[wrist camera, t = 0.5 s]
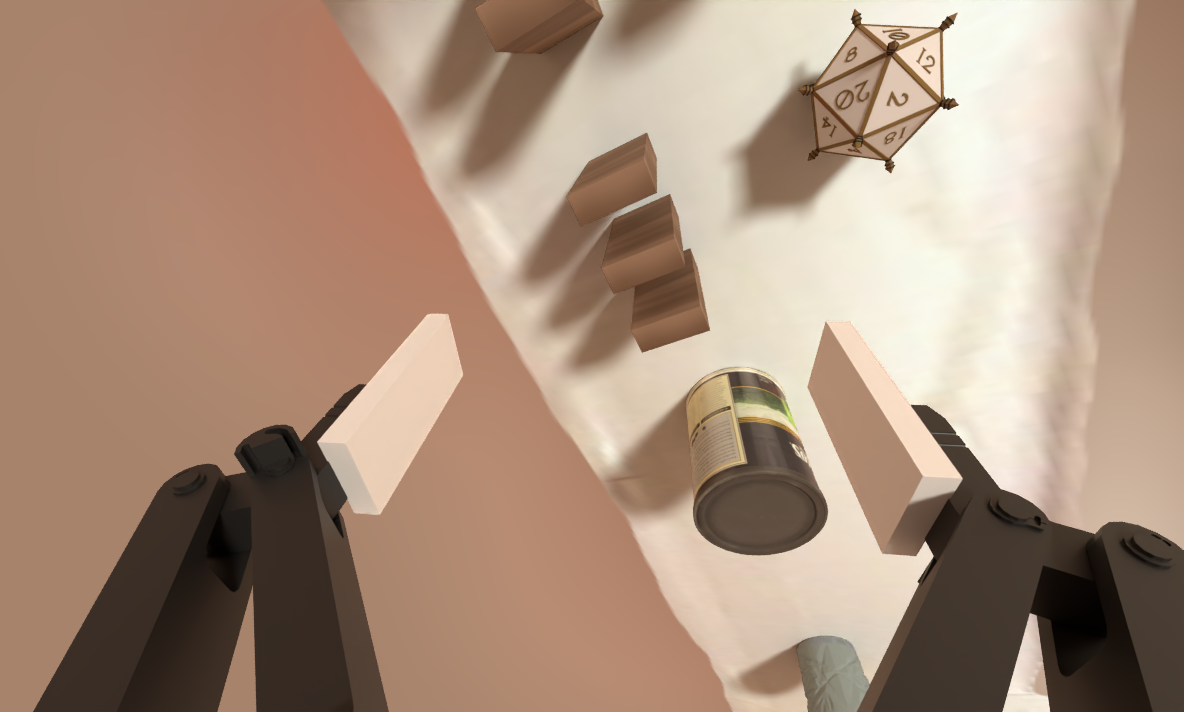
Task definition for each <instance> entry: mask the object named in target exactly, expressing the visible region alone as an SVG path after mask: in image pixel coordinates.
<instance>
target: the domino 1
mask: <svg viewBox="0 0 1184 712" xmlns="http://www.w3.org/2000/svg"><path fill="white" fill-rule="evenodd" d="M475 9H476V11H477V13H478V15H479V18H480V20H481V22H482V24H483V26H484V28H485V30H486V32H487V34H488V36H489V38H490V40H491V42H492V44H493V46H494V48H495V51H496V52H511V53H536V54H541V53H543V52H545V51H546V50H548V49H549V48H551V47H553V46H554V45H556V44H558V43H559V42H561V41H563V40H564V39H566V38H568V37H569V36H571V35H572V34H574V33H576V32H577V31H579V30H581V29H582V28H584V27H586V26H587V25H589V24H591V23H592V22H594V21H596V20H597V19H599V18H600V17H602V16H603V13H602V11H601V8H600V5H599V3H598V0H487V1H486V2H484V3H483V4H481V5H480V6H478V7H477V8H475Z"/></svg>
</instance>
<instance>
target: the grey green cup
mask: <svg viewBox="0 0 1184 712" xmlns="http://www.w3.org/2000/svg"><path fill="white" fill-rule="evenodd" d="M797 655H798V660H799V665H800V668H801V673H802V675H803V676H802V681H803V685H804V691H805V696H806V698H807V699H808V706H807V708H808V712H857V710H858V708H859V706H860V704H861V702H862V700H863V698H864V696H865V694H866V692H867V690H868V688H869V686H870V684H869V682H868V679H867V678H866V676H865V675H864V672H863V669H862V666H861V663H860V661H859V659H858V656H857V654H856V651H855V649H854V647H853V645H852V644H851V643H850V642H849V641H847V640H845V639H843V638H839V637H834V636H817V637H812V638H808V639H806V640H804V641H802V642H801V643H800V644H799V645H798V647H797Z"/></svg>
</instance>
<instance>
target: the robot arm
mask: <svg viewBox="0 0 1184 712" xmlns="http://www.w3.org/2000/svg"><path fill="white" fill-rule="evenodd" d="M462 376H463V372H462V368H461V364H460V360H459V356H458V352H457V348H456V344H455V340H454V336H453V332H452V328H451V324H450V320H449V316H448V314H428V315H427V316H426V317H425V318H424V320H422V322H421V323H420V324H419V325H418V326H417V327H416V328H415V330H414V331H413V332H412V333H411V334H410V335H409V337H408V338H407V339H406V340H405V341H404V342H403V343H402V345H401V346H400V347H399V348H398V349H397V350H396V352H395V353H394V354H393V355H392V356H391V357H390V358H389V360H388V361H387V362H386V363H385V364H384V365H383V367H382V368H381V369H380V370H379V371H378V372H377V374H376V375H375V376H374V377H373V378H372V379H371V380H370V382H369V383H368V384H367V385H364V384H359V385H357V386H356V387H354V388H353V389H351V390H350V391H348V392H347V393H345V394H344V395H343V396H342V397H341V398H340V399H339V400H338V401H337V403H336V404H335V405H334V408H331V409H330V410H329V411H328V412H327V413H326V416H325V417H323V418H322V419H321V420H320V421H319V422H318V423H317V424H316V426H315V427H314V428H313V429H312V430H311V431H310V432H309V433H308V434H307V435H306V437H305V438H304V439H303V440H302V441H300V439H299V437H298V435H297V433H296V432H295V430H294V429H293V427H291V426H288V425H274V426H271V427H267V428H263V429H261V430H259V431H257V432H255V433H253V434H251V435H250V436H248V437H247V438H245V439H244V440H243V441H242V442H241V443H240V444H239V445H238V447H237V448H236V451H235V453H234V455H235V456H236V458H237V459H238V461H239V462H240V464H241V465H242V467H243V468H244V469H245V471H246V472H245V473H240V474H235V475H229V476H225V475H224V474H223V473H222V471H221V470H220V469H219V467H218V466H217V465H213V464H203V465H197V466H194V467H191V468H188V469H186V470H183V471H182V472H179V473H178V474H176V475H174V476H173V477H172V478H170V479H169V480H168V481H167V482H165V483H164V484H163V486H162V487H161V488H160V489H159V490H158V492H157V493H156V495H155V497H154V499H153V500H152V502H151V504H150V506H149V508H148V510H147V511H146V513H145V515H144V516H143V518H142V520H141V522H140V524H139V525H138V527H137V529H136V531H135V532H134V534H133V536H132V538H131V539H130V541H129V543H128V545H127V547H126V548H125V550H124V552H123V554H122V556H121V557H120V559H119V561H118V562H117V565H116V566H115V568H114V569H113V571H112V573H111V575H110V577H109V578H108V580H107V582H106V584H105V585H104V587H103V589H102V591H101V593H100V594H99V596H98V598H97V600H96V601H95V604H94V605H93V607H92V609H91V610H90V612H89V614H88V616H87V617H86V619H85V621H84V623H83V624H82V627H81V628H80V630H79V632H78V633H77V635H76V637H75V639H74V640H73V642H72V644H71V646H70V647H69V649H68V651H67V653H66V655H65V657H64V658H63V660H62V662H61V663H60V665H59V667H58V669H57V670H56V672H55V674H54V676H53V678H52V680H51V681H50V683H49V685H48V686H47V688H46V690H45V692H44V694H43V695H42V697H41V699H40V701H39V702H38V704H37V706H36V708H35V710H34V711H33V712H217V711H218V707H219V703H220V700H221V697H222V693H223V689H224V686H225V682H226V679H227V675H228V672H229V668H230V665H231V661H232V657H233V654H234V650H235V647H236V643H237V640H238V636H239V632H240V629H241V625H242V622H243V618H244V614H245V611H246V607H247V604H248V600H249V596H250V593H251V590H252V586H253V602H254V637H255V670H256V671H255V672H256V673H255V674H256V709H257V712H389V711H388V707H387V702H386V698H385V694H384V690H383V685H382V682H381V677H380V673H379V668H378V665H377V660H376V656H375V652H374V647H373V643H372V639H371V634H370V630H369V626H368V621H367V617H366V613H365V609H364V604H363V600H362V596H361V592H360V587H359V583H358V579H357V575H356V570H355V566H354V562H353V557H352V553H351V549H350V545H349V541H348V536H347V532H346V528H345V523H344V519H343V517H342V515H341V513H340V511H339V510H340V509H341V507H342V506H343V505H344V503H345V502H346V500H348V502H349V503H350V506H351V508H352V509H353V511H354V513H362V514H375V515H380V514H381V512H382V510H383V509H384V507H385V505H386V504H387V502H388V500H389V499H390V497H391V495H392V494H393V492H394V490H395V488H396V487H397V485H398V484H399V482H400V480H401V479H402V477H403V475H404V473H405V472H406V470H407V468H408V467H409V465H410V463H411V462H412V460H413V458H414V457H415V455H416V453H417V452H418V450H419V448H420V447H421V445H422V443H423V442H424V440H425V438H426V437H427V435H428V433H429V432H430V430H431V428H432V426H433V425H434V423H435V421H436V420H437V418H438V416H439V415H440V413H441V411H442V410H443V408H444V406H445V405H446V403H447V401H448V399H449V398H450V396H451V394H452V393H453V391H454V390H455V388H456V386H457V385H458V383H459V381H460V379H461V378H462ZM808 389H809V391H810V394H811V396H812V398H813V400H814V403H815V405H816V407H817V409H818V412H819V414H820V416H821V418H822V420H823V423H824V425H825V427H826V429H827V432H828V434H829V436H830V438H831V440H832V443H833V445H834V447H835V449H836V452H837V454H838V456H839V458H840V461H841V463H842V465H843V467H844V469H845V472H846V474H847V476H848V478H849V481H850V483H851V485H852V487H853V489H854V492H855V494H856V496H857V498H858V501H859V503H860V505H861V507H862V509H863V512H864V514H865V516H866V518H867V521H868V523H869V525H870V527H871V530H872V532H873V534H874V536H875V538H876V541H877V543H878V545H879V547H880V550H881V552H882V553H883V554H896V555H909V556H916V555H917V554H918V552H919V550H920V549H921V547H922V545H923V544H924V542H925V541H926V543H927V544H928V546H929V548H930V550H931V552H932V554H933V555H934V557H933V559H932V560H931V562H930V563H929V565H928V566H927V568H926V569H925V571H924V573H923V574H922V576H921V577H920V579H919V580H918V583H919V585H918V588H917V590H916V592H915V594H914V596H913V598H912V600H911V602H910V604H909V606H908V608H907V610H906V612H905V614H904V616H903V618H902V620H901V622H900V624H899V626H898V628H897V630H896V633H895V635H894V637H893V639H892V641H891V643H890V645H889V647H888V649H887V651H886V653H885V655H884V657H883V659H882V661H881V663H880V665H879V667H878V669H877V671H876V673H875V676H874V678H873V680H872V682H871V684H870V686H869V688H868V690H867V692H866V694H865V696H864V698H863V700H862V702H861V704H860V706H859V708H858V710H857V712H1002V711H1003V708H1004V704H1005V700H1006V697H1007V693H1008V690H1009V686H1010V682H1011V679H1012V675H1013V672H1014V668H1015V664H1016V661H1017V657H1018V654H1019V650H1020V646H1021V643H1022V639H1023V636H1024V632H1025V628H1026V625H1027V621H1028V618H1029V614H1030V613H1031V614H1034V615H1037V621H1038V628H1039V635H1040V642H1041V649H1042V656H1043V663H1044V670H1045V678H1046V685H1047V691H1048V699H1049V706H1050V712H1184V550H1182V549H1181V548H1180V547H1179V546H1177V545H1176V544H1175V543H1173V542H1172V541H1170V540H1168V539H1167V538H1165V537H1163V536H1161V535H1160V534H1158V533H1156V532H1153V531H1151V530H1148V529H1146V528H1144V527H1141V526H1139V525H1134V524H1130V523H1125V522H1109V523H1107V524H1106V525H1104V526H1102V527H1101V528H1100V529H1099V530H1098V532H1097V533H1096V534H1092V533H1089V532H1086V531H1082V530H1079V529H1075V528H1072V527H1068V526H1064V525H1061V524H1057V523H1054V522H1051V521H1049V520H1048V518H1047V517H1046V515H1045V514H1044V513H1043V512H1042V511H1041V510H1040V509H1039V508H1037V507H1036V506H1035V505H1034V504H1033V503H1031V502H1029V501H1028V500H1026V499H1024V498H1022V497H1021V496H1019V495H1016V494H1014V493H1011V492H1008V491H1005V490H1001V489H1000V488H999V487H998V485H997V484H996V483H995V482H994V480H993V479H992V478H991V476H990V475H989V474H988V473H987V471H986V470H985V469H984V468H983V466H982V465H981V464H980V462H979V461H978V460H977V459H976V457H975V456H974V455H973V453H972V452H971V451H970V450H969V448H966V447H965V443H964V442H963V441H962V439H961V438H960V437H959V436H956V432H955V431H954V429H953V428H952V427H951V425H950V424H949V423H948V422H947V420H946V419H945V418H944V417H942V416H941V415H940V414H938V413H937V412H935V411H934V410H933V409H931V408H930V407H928V406H927V405H910V404H909V403H908V401H907V400H906V398H905V397H904V396H903V394H902V393H901V391H900V390H899V389H898V387H897V386H896V385H895V383H894V382H893V380H892V379H891V378H890V376H889V375H888V373H887V372H886V371H885V369H884V368H883V366H882V365H881V364H880V362H879V361H878V359H877V358H876V357H875V355H874V354H873V352H872V351H871V350H870V348H869V347H868V345H867V344H866V343H865V341H864V340H863V338H862V337H861V336H860V334H859V333H858V331H857V330H856V329H855V327H854V326H853V324H852V323H851V322H847V321H826V322H825V326H824V330H823V333H822V337H821V340H820V344H819V348H818V351H817V355H816V358H815V362H814V366H813V369H812V373H811V376H810V380H809V384H808Z"/></svg>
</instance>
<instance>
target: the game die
mask: <svg viewBox="0 0 1184 712" xmlns="http://www.w3.org/2000/svg"><path fill="white" fill-rule="evenodd" d="M860 15H861V13H859V12H858V11H856V10H855V9H854V13H853V16H852V18H851V20H852V24H854V26H855V28H854V30H853V31H852V32H851V34H850V35H849V37H848V38H847V40H846V41H845V42H844V44H843V45H842V47H841V48H840V49H839V51H838V52H837V54H836V55H835V57H834V58H833V59H832V61H831V62H830V64H829V65H828V66H827V68H826V69H825V71H824V72H823V74H822V75H821V76H820V78H819V79H818V81H817V82H816V83H815V85H814V84H812V85H809V86H807V85H805V86H803V87H802V88H800V89H798V90H799V91H800V92H801V93H802V95H803V96H804V95H807V96H808V94H811V100H812V109H813V118H814V127H815V136H816V146H817V148H816V149H815V150H814V151H813V150H812V152H811V153H809V157H808V161H809V160H812V159H815V157H816V156H818V153H819V152H826V153H834V154H841V155H848V156H855V157H862V158H869V159H876V160H883V161H885V162H886V163H885V166H886V168H885V170H887V171H889V172H890V173H892V170H893V168H894V166H895V165H894V164H893V163H894V162H893V161H892V160H891V158H892V157H893V156H894V155H895V154H896V153H897V152H898V151H899V150H900V149H901V148H902V147H903V146H904V145H905V143H906V142H907V141H908V140H909V139H910V138H911V137H912V136H913V135H914V134H915V133H916V132H917V131H918V130H919V129H920V128H921V127H922V126H923V125H924V124H925V122H926V121H927V120H928V119H929V118H930V117H931V116H932V115H933V114H934V113H935V112H936V111H937V110H938V109H939V108H940V107H943V109H947V110H949V109H951V108H953V107H956V106H958V105H959V104H957V103H956V102H955V99H954V98H952V99H949V98H948V99H945V97H944V84H943V31H944V30H945V29H947V28H950V27H949V26H950V25H952V24H954V20H955V18H956V15H957V13H956V14H953V15H951V16H949V17H948V16H947V17H946V19H945V21H943V22H942V24H941V26H940V27H938V28H933V27H912V26H891V25H870V24H861V19H862V18H861V17H860Z"/></svg>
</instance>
